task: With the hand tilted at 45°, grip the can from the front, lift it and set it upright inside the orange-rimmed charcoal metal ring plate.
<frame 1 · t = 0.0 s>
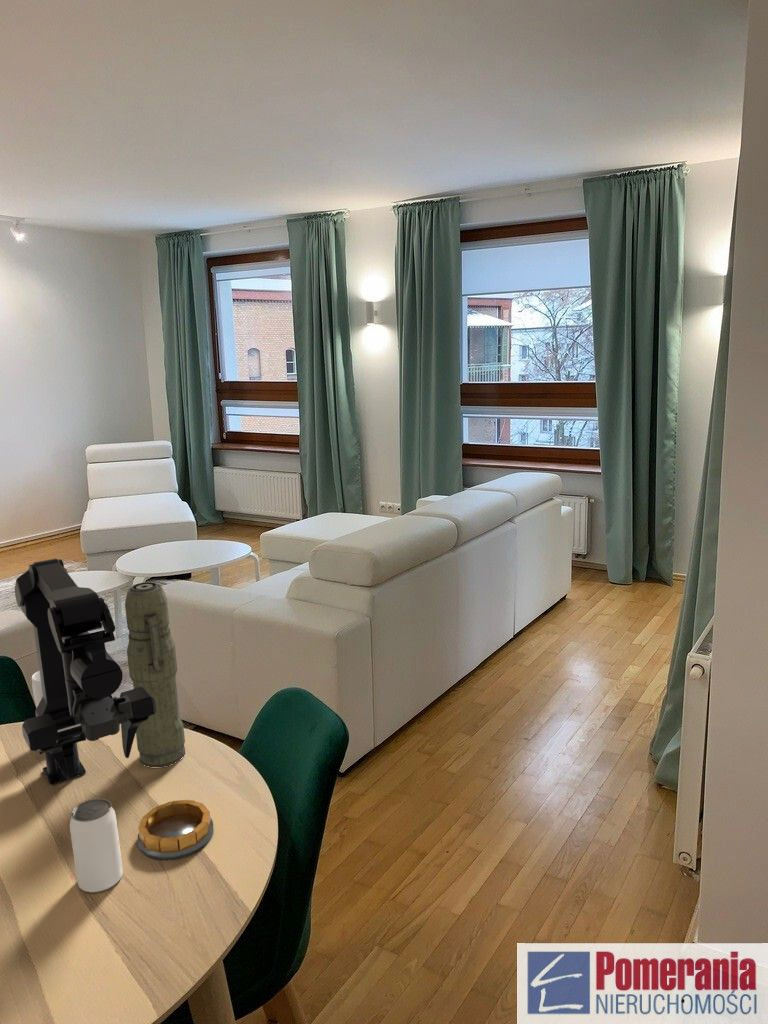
hand: (97, 766, 121), 15 cm above the table, tool pointing down, fingers open, 9 cm apart
ring plate: (176, 836, 127), on the table
can: (100, 880, 118), on the table
thermos: (162, 756, 152), on the table
drinking glass: (59, 742, 159), on the table
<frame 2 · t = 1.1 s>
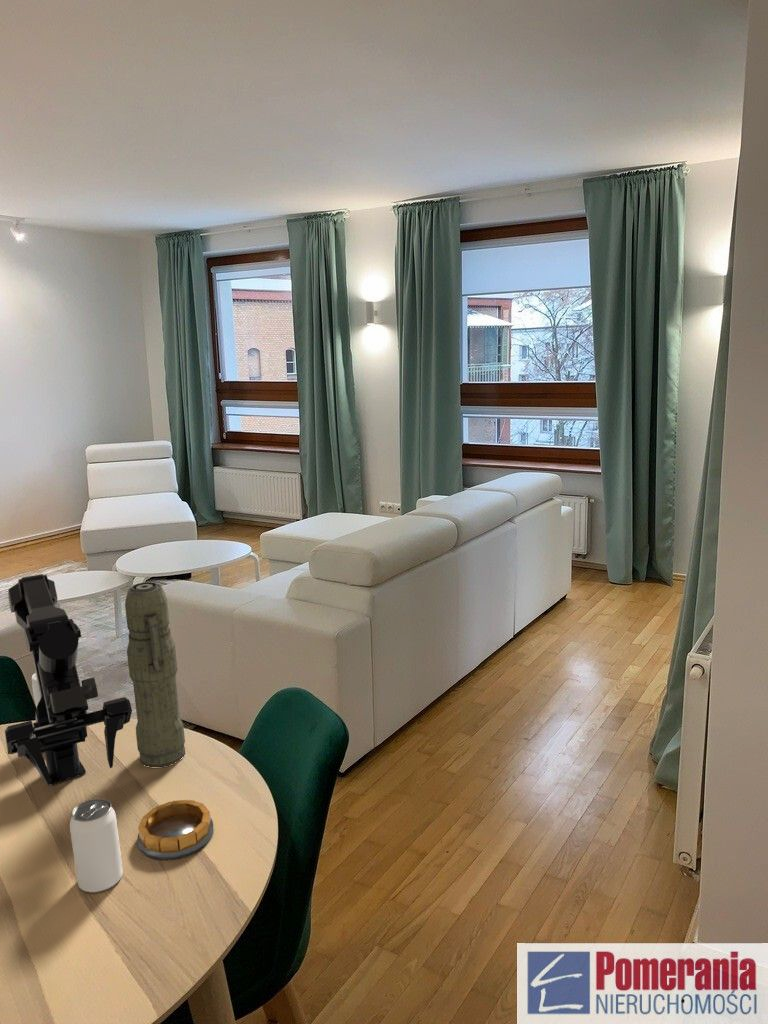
hand: (81, 776, 121), 13 cm above the table, tool tilted 45°, fingers open, 9 cm apart
nothing on the table moved.
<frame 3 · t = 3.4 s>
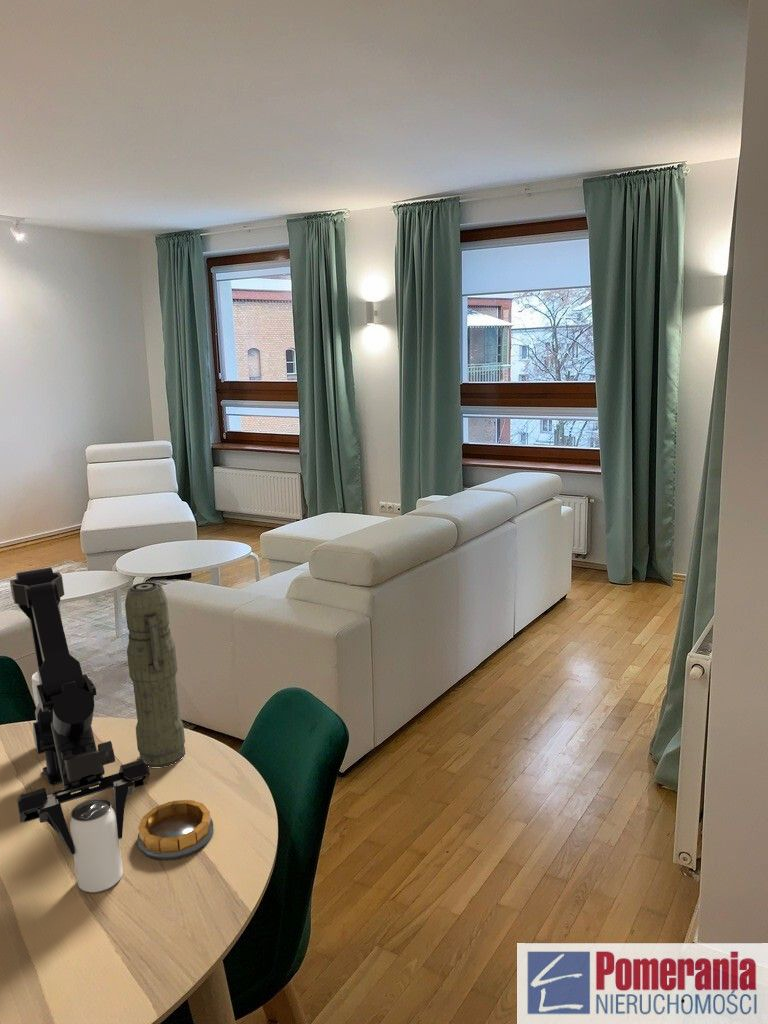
hand: (97, 846, 115), 7 cm above the table, tool tilted 45°, fingers closed on can, 6 cm apart
can: (100, 880, 118), on the table, touching gripper
everything else where it was.
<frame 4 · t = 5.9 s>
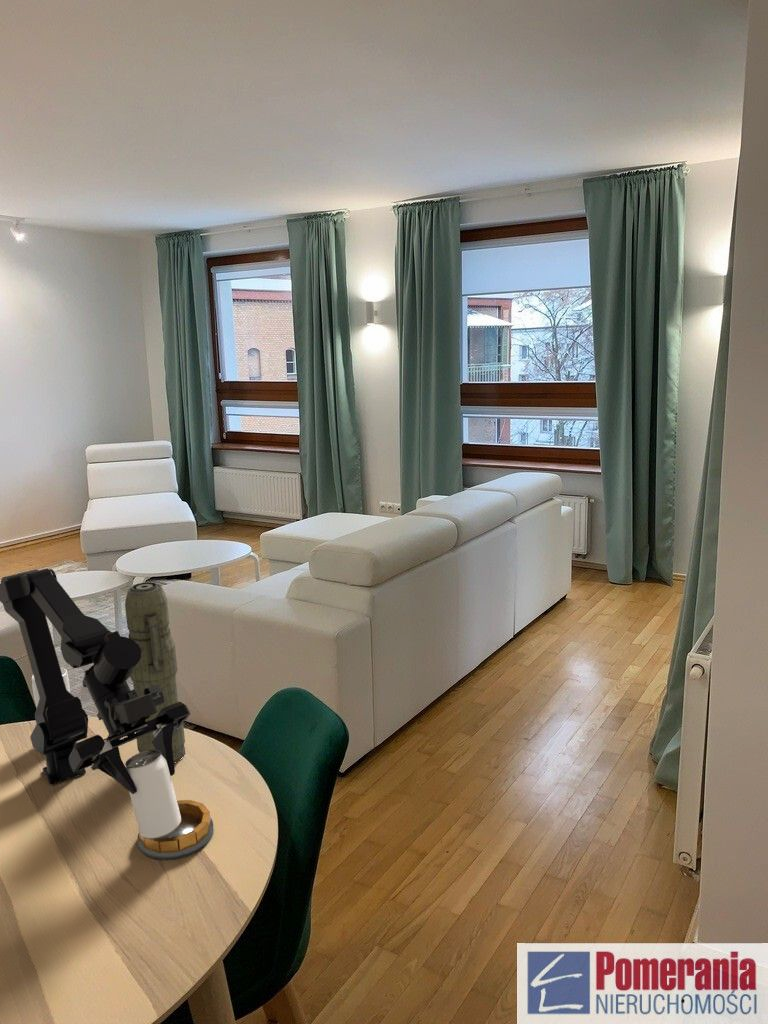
hand: (154, 783, 121), 12 cm above the table, tool tilted 45°, fingers closed on can, 6 cm apart
can: (161, 829, 123), point 4 cm above the table, touching gripper
everything else where it was.
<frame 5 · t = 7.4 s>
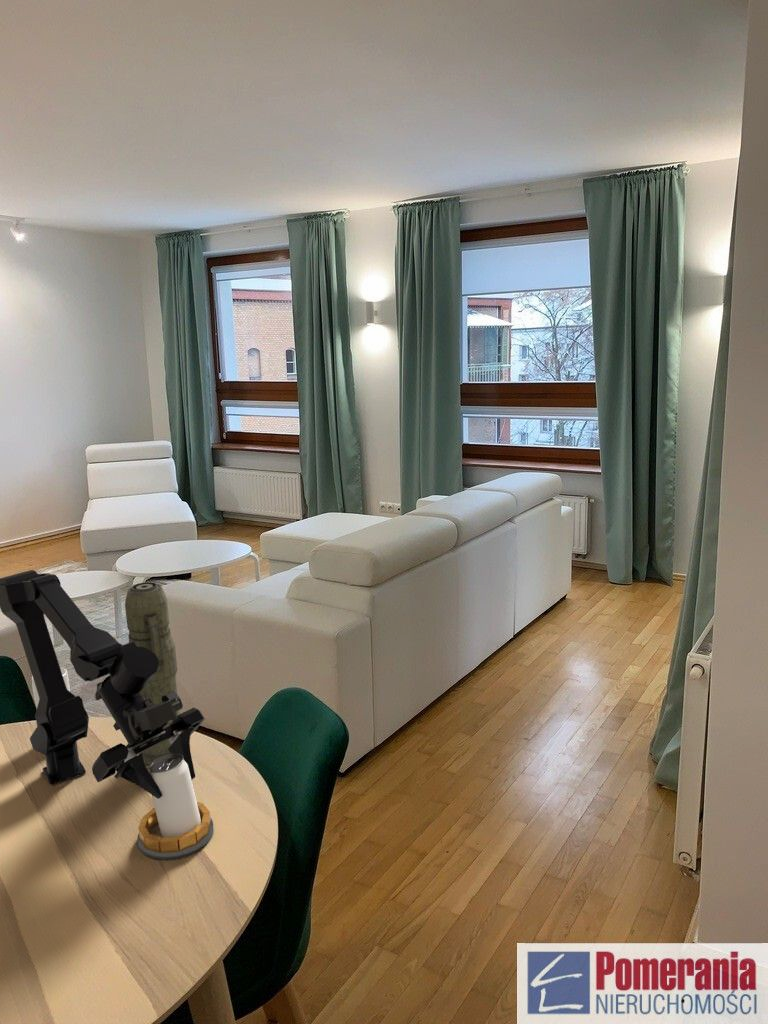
hand: (177, 787, 124), 9 cm above the table, tool tilted 45°, fingers closed on can, 6 cm apart
can: (182, 830, 127), point 1 cm above the table, touching gripper, ring plate
everything else where it was.
when the fingers open (9 cm above the table, at t = 7.6 s): can stays where it is, resting on ring plate.
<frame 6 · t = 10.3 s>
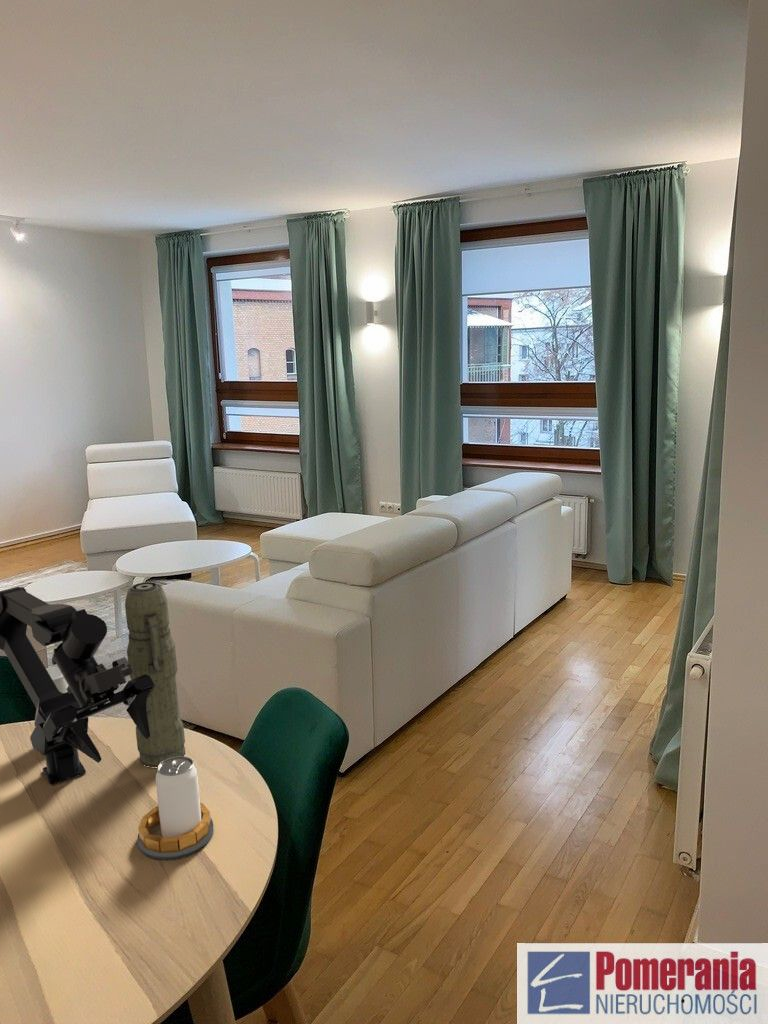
hand: (124, 749, 129), 13 cm above the table, tool tilted 45°, fingers open, 9 cm apart
can: (182, 832, 127), point 1 cm above the table, touching ring plate
everything else where it was.
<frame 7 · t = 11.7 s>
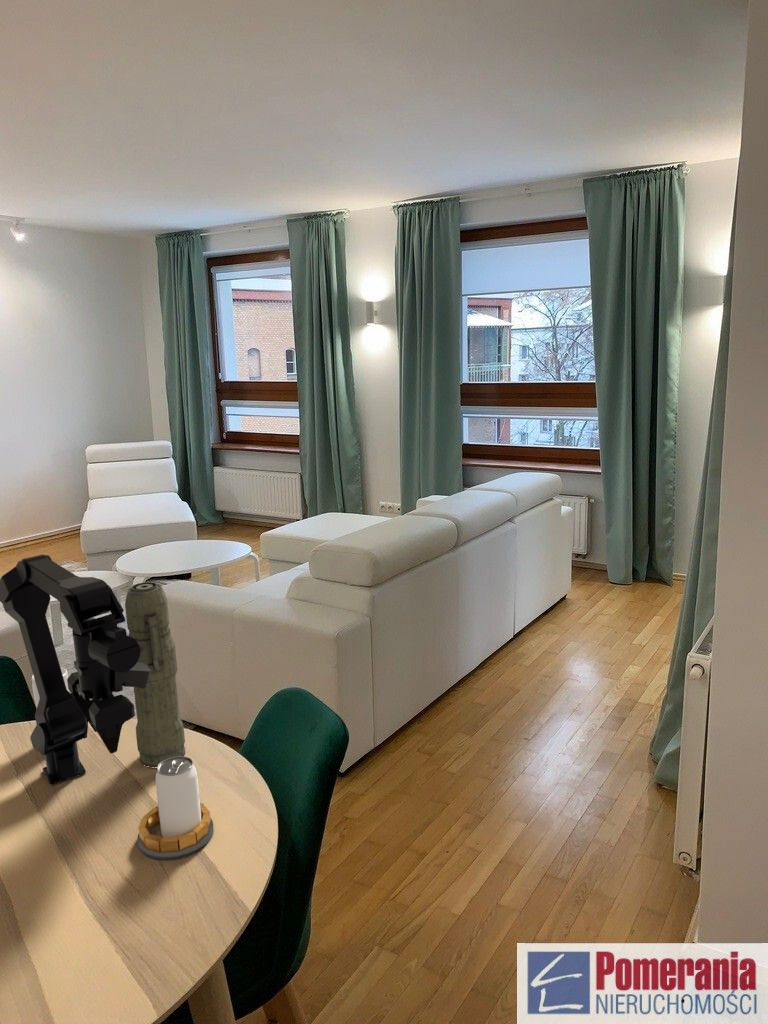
hand: (105, 741, 132), 13 cm above the table, tool pointing down, fingers open, 9 cm apart
nothing on the table moved.
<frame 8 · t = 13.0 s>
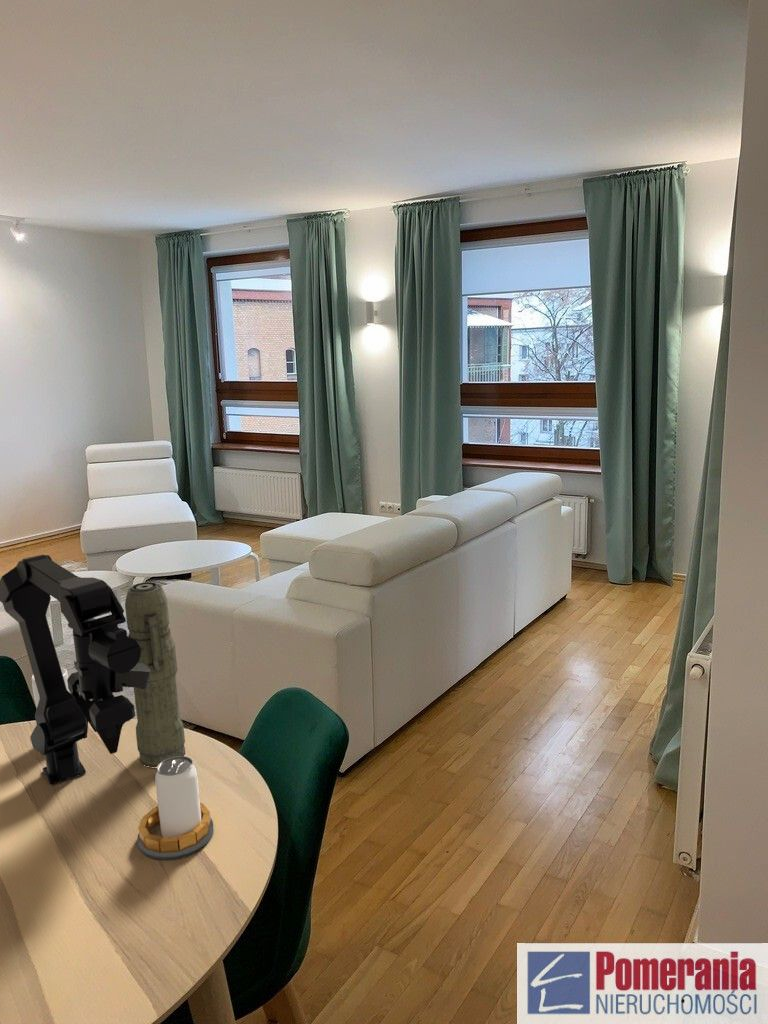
hand: (105, 741, 132), 13 cm above the table, tool pointing down, fingers open, 9 cm apart
nothing on the table moved.
at the end: can 1.1 cm off-centre on the ring plate, point 0.8 cm above the ring plate's base; can tilted 0°; the gripper is holding nothing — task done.
